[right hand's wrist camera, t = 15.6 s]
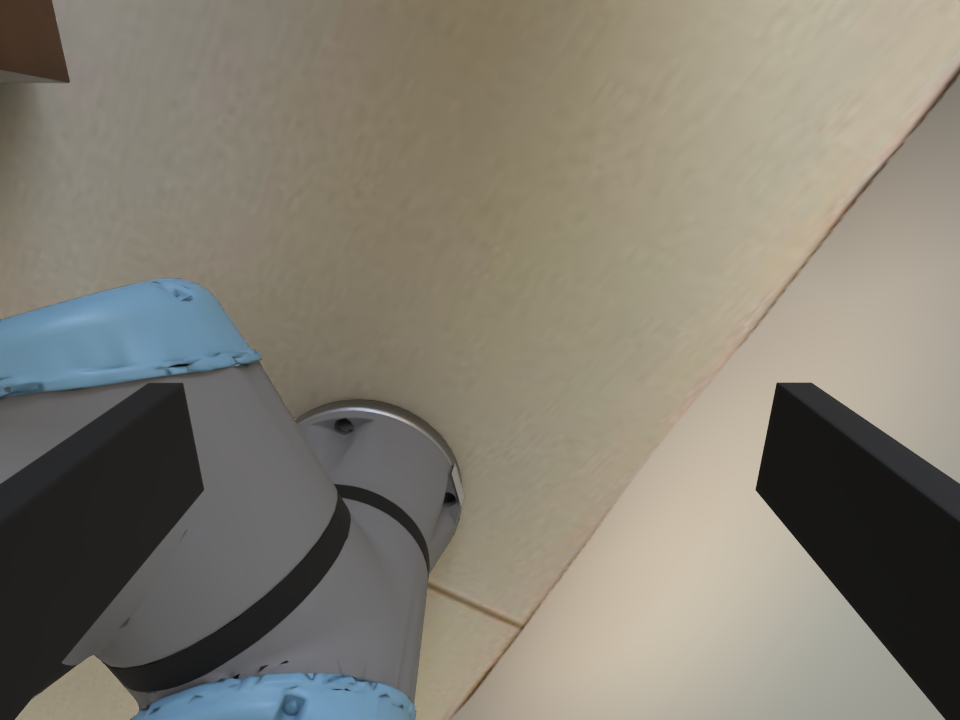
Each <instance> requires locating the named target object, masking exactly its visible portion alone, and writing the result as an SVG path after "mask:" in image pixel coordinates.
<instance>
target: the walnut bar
mask: <svg viewBox="0 0 960 720" xmlns="http://www.w3.org/2000/svg"><path fill="white" fill-rule="evenodd" d="M69 82H70V80H69V76H68V71H67V67H66V62H65V58H64V53H63V49H62V44H61V40H60V35H59V31H58V26H57V22H56V17H55V13H54V8H53V4H52V0H0V83H69Z"/></svg>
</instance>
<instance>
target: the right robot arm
mask: <svg viewBox="0 0 960 720" xmlns="http://www.w3.org/2000/svg"><path fill="white" fill-rule="evenodd" d="M261 359H262V358H261V355H260V353H259V352H258V351H257V350H254V349H252V348H250V347H249V345H248V344H247V342H246V341H245V339H244V338H243V337H242V335H241V334H240V332H239V331H238V329H237V328H236V326H235V325H234V323H233V322H232V321H231V319H230V318H229V316H228V315H227V313H226V312H225V310H224V309H223V307H222V306H221V304H220V303H219V301H218V300H217V299H216V298H215V297H214V295H213V294H212V293H211V292H209V291H208V290H207V289H206V288H204V287H202V286H201V285H199V284H197V283H194V282H192V281H188V280H184V279H179V278H162V279H154V280H149V281H143V282H139V283H135V284H130V285H126V286H122V287H118V288H114V289H109V290H105V291H101V292H98V293H94V294H90V295H86V296H82V297H79V298H75V299H71V300H68V301H64V302H60V303H57V304H53V305H50V306H46V307H43V308H39V309H36V310H32V311H29V312H25V313H22V314H18V315H15V316H12V317H8V318H5V319H2V320H0V720H15V718H16V717H17V716H18V715H19V713H20V712H21V711H22V710H23V709H24V707H25V706H26V705H27V704H28V703H29V701H30V700H31V699H32V698H34V697H35V696H37V695H38V694H40V693H41V692H42V691H43V690H45V689H46V688H47V687H49V686H50V685H51V684H53V683H54V682H55V681H57V680H58V679H59V678H61V677H62V676H63V675H65V674H66V673H67V672H68V671H70V670H71V669H72V668H74V667H75V666H76V665H78V664H79V663H81V662H82V661H84V660H85V659H86V658H88V657H90V656H92V655H95V656H96V657H97V658H98V659H100V660H101V661H102V662H103V663H104V664H105V665H106V666H107V667H108V668H109V669H110V671H111V672H112V673H113V674H114V675H115V676H116V677H117V678H118V679H119V681H120V682H121V683H122V684H123V686H124V687H125V688H126V689H127V690H128V691H129V692H130V694H131V695H132V696H133V697H134V698H135V699H136V701H137V703H138V704H139V712H138V714H137V715H136V716H134V717H133V718H131V719H130V720H415V717H416V710H414V709H415V706H414V700H415V691H416V682H417V674H418V665H419V656H420V647H421V639H422V630H423V621H424V613H425V604H426V595H427V586H428V577H429V573H430V572H431V570H432V568H433V567H434V565H435V564H436V562H437V561H438V559H439V557H440V556H441V554H442V553H443V551H444V550H445V548H446V546H447V545H448V543H449V542H450V540H451V539H452V537H453V535H454V533H455V531H456V528H457V526H458V522H459V519H460V513H461V507H462V504H463V501H464V497H465V496H464V492H463V489H462V480H461V474H460V470H459V467H458V464H457V461H456V459H455V456H454V454H453V453H452V451H451V449H450V447H449V446H448V444H447V443H446V441H445V440H444V439H443V438H442V437H441V435H440V434H439V433H438V432H437V431H436V430H435V429H434V428H433V427H431V426H430V425H429V424H428V423H427V422H425V421H424V420H422V419H421V418H419V417H418V416H416V415H414V414H413V413H411V412H409V411H407V410H404V409H402V408H400V407H397V406H394V405H391V404H388V403H383V402H379V401H372V400H344V401H337V402H333V403H329V404H326V405H323V406H320V407H317V408H315V409H313V410H311V411H309V412H307V413H306V414H304V415H302V416H301V417H299V418H298V419H297V420H294V418H293V417H292V415H291V413H290V412H289V410H288V408H287V407H286V405H285V404H284V402H283V400H282V399H281V397H280V395H279V394H278V392H277V390H276V389H275V387H274V385H273V384H272V382H271V381H270V379H269V377H268V376H267V374H266V372H265V371H264V369H263V367H262V366H261V364H260V362H259V361H258V360H261ZM756 491H757V492H758V493H759V495H760V496H761V497H762V498H763V499H764V501H765V502H766V503H767V504H768V505H769V507H770V508H771V509H772V510H773V512H774V513H775V514H776V515H777V516H778V518H779V519H780V520H781V521H782V522H783V524H784V525H785V526H786V527H787V528H788V530H789V531H790V532H791V533H792V534H793V536H794V537H795V538H796V539H797V541H798V542H799V543H800V544H801V545H802V547H803V548H804V549H805V550H806V551H807V553H808V554H809V555H810V556H811V557H812V559H813V560H814V561H815V562H816V564H817V565H818V566H819V567H820V568H821V570H822V571H823V572H824V573H825V574H826V576H827V577H828V578H829V579H830V580H831V582H832V583H833V584H834V585H835V587H836V588H837V589H838V590H839V591H840V593H841V594H842V595H843V596H844V597H845V599H846V600H847V601H848V602H849V603H850V605H851V606H852V607H853V608H854V609H855V611H856V612H857V613H858V614H859V615H860V617H861V618H862V619H863V620H864V622H865V623H866V624H867V625H868V626H869V628H870V629H871V630H872V631H873V632H874V634H875V635H876V636H877V637H878V638H879V640H880V641H881V642H882V643H883V645H884V646H885V647H886V648H887V649H888V651H889V652H890V653H891V654H892V655H893V657H894V658H895V659H896V660H897V661H898V663H899V664H900V665H901V666H902V667H903V669H904V670H905V671H906V672H907V674H908V675H909V676H910V677H911V678H912V680H913V681H914V682H915V683H916V684H917V686H918V687H919V688H920V689H921V690H922V692H923V693H924V694H925V695H926V696H927V698H928V699H929V700H930V701H931V703H932V704H933V705H934V706H935V707H936V709H937V710H938V711H939V712H940V713H941V715H942V716H943V717H944V718H945V720H960V484H959V483H958V482H956V481H955V480H953V479H952V478H950V477H949V476H947V475H946V474H944V473H943V472H941V471H940V470H939V469H937V468H936V467H934V466H933V465H931V464H930V463H928V462H927V461H925V460H924V459H922V458H921V457H919V456H918V455H917V454H915V453H914V452H912V451H911V450H909V449H908V448H906V447H905V446H903V445H902V444H900V443H899V442H898V441H896V440H895V439H893V438H892V437H890V436H889V435H887V434H886V433H884V432H883V431H881V430H880V429H878V428H877V427H875V426H874V425H873V424H871V423H870V422H868V421H867V420H865V419H864V418H862V417H861V416H859V415H858V414H856V413H855V412H854V411H852V410H850V409H849V408H848V407H846V406H845V405H843V404H842V403H840V402H839V401H837V400H836V399H834V398H833V397H832V396H830V395H829V394H827V393H826V392H824V391H823V390H821V389H820V388H818V387H817V386H815V385H814V384H812V383H777V384H776V389H775V395H774V400H773V405H772V410H771V415H770V420H769V425H768V430H767V435H766V440H765V445H764V450H763V455H762V460H761V465H760V470H759V476H758V481H757V486H756Z"/></svg>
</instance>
